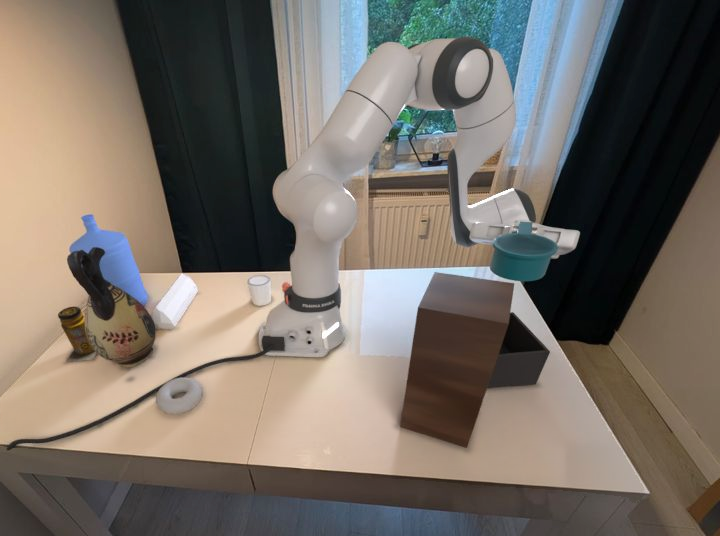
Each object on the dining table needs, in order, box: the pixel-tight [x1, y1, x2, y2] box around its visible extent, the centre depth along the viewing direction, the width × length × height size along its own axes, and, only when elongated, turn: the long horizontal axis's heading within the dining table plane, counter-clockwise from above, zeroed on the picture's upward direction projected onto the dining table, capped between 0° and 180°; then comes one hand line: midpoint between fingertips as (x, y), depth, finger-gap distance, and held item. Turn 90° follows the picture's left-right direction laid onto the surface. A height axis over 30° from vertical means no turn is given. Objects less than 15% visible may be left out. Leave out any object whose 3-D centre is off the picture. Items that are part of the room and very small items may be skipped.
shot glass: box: [246, 274, 272, 307], centre depth 112 cm, size 7×7×7 cm
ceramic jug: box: [66, 247, 157, 369], centre depth 88 cm, size 17×15×30 cm
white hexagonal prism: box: [150, 273, 199, 330], centre depth 112 cm, size 7×7×24 cm
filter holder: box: [489, 221, 558, 282], centre depth 71 cm, size 20×10×5 cm, turn 152°
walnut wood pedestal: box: [399, 271, 515, 449], centre depth 66 cm, size 12×12×27 cm
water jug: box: [68, 213, 149, 307], centre depth 110 cm, size 16×16×28 cm
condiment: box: [57, 306, 98, 362], centre depth 97 cm, size 7×8×12 cm
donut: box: [155, 377, 203, 415], centre depth 82 cm, size 10×4×10 cm
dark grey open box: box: [487, 311, 551, 390], centre depth 81 cm, size 14×14×9 cm
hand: (524, 230), depth 76 cm, fingers closed on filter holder, 2 cm apart
